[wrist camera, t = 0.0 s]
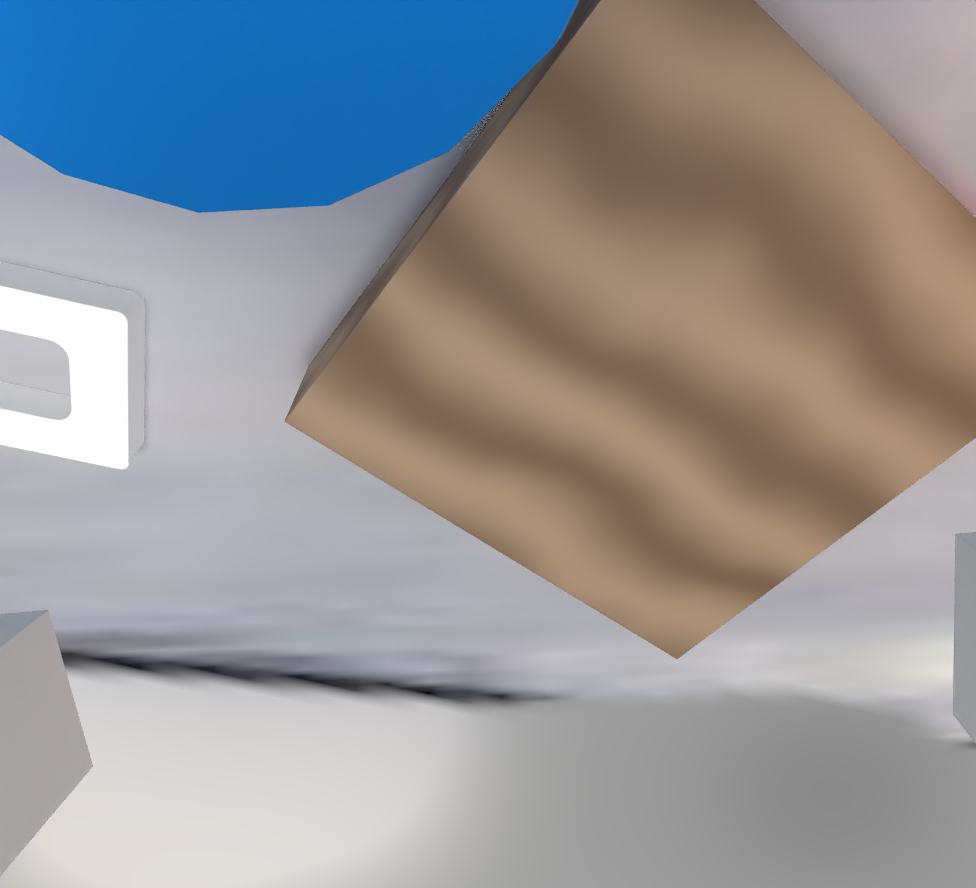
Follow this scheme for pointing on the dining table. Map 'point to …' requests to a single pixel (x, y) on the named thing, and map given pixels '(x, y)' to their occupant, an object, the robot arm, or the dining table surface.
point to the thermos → (258, 90)
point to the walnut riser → (664, 321)
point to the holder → (77, 367)
